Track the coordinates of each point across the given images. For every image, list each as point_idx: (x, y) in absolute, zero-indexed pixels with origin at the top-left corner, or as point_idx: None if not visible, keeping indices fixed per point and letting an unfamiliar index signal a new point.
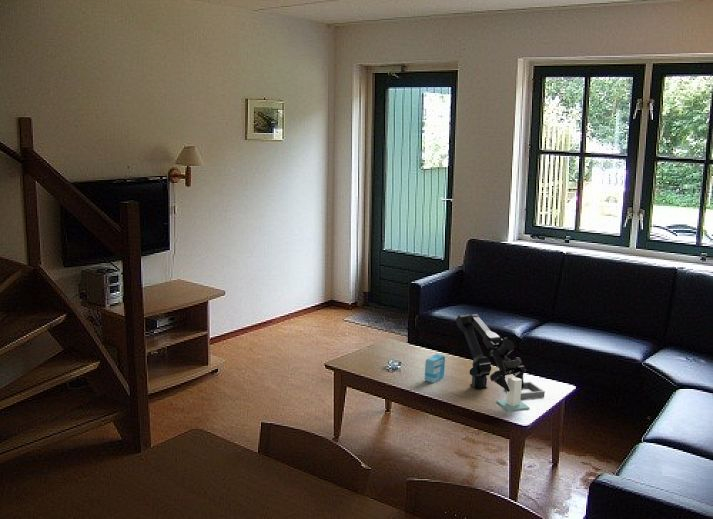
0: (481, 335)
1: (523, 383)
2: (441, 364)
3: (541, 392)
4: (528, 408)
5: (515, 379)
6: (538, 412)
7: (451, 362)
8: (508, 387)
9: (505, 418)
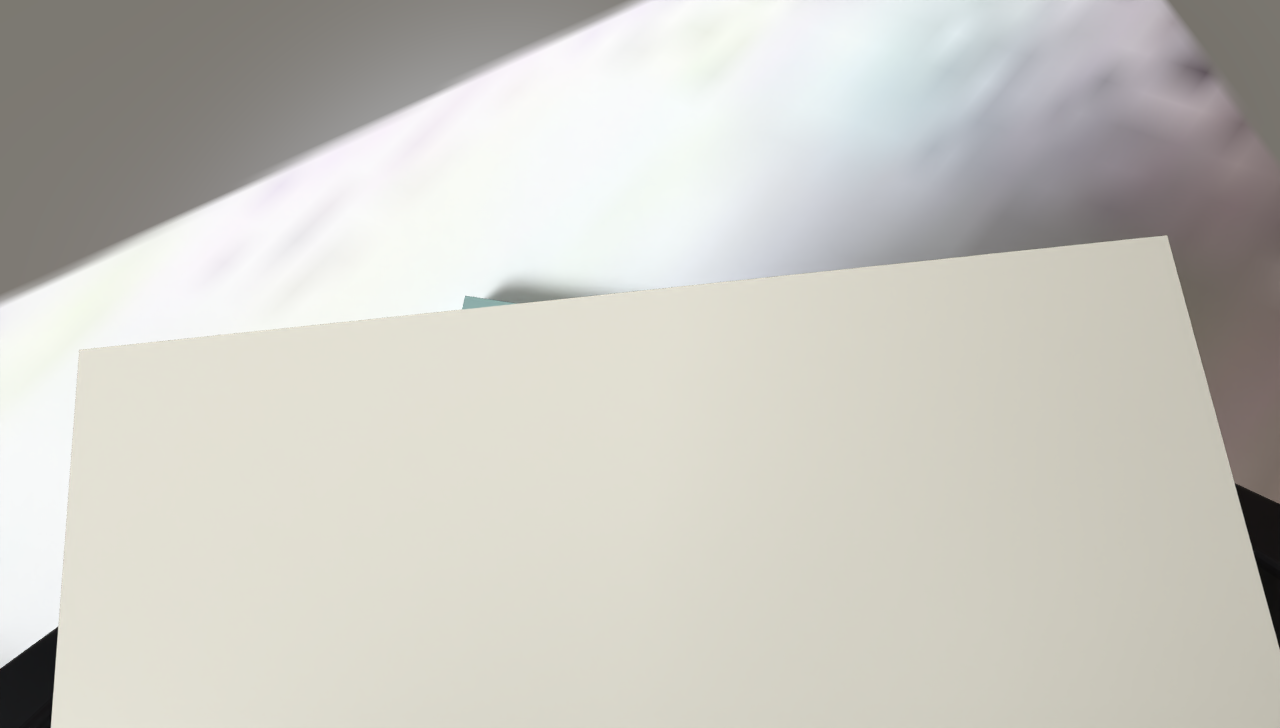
0: None
1: (9, 670)
2: None
3: None
4: (491, 302)
5: (783, 664)
6: (421, 132)
7: None
8: (1262, 535)
9: (1201, 140)
